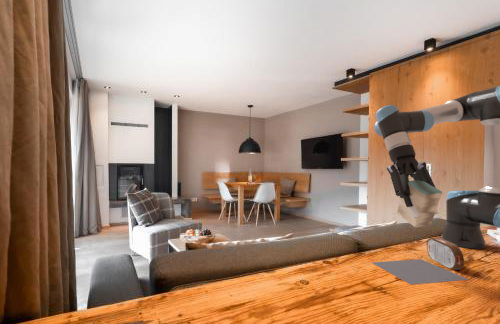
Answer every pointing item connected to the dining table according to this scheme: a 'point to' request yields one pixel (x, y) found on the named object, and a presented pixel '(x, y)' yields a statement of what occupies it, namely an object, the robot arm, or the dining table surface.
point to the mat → (418, 271)
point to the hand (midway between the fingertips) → (425, 215)
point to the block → (421, 203)
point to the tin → (445, 253)
